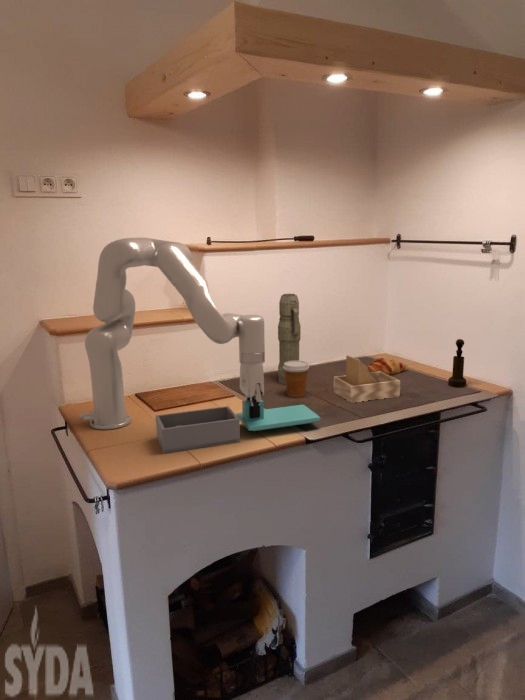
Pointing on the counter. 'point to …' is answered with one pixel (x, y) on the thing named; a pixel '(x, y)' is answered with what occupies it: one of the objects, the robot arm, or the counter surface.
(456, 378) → the dark brown tall piece
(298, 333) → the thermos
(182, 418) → the tub
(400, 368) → the croissant
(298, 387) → the disposable coffee cup
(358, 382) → the sandwich container
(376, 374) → the open rectangular storage box
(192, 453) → the counter surface
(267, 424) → the lid
